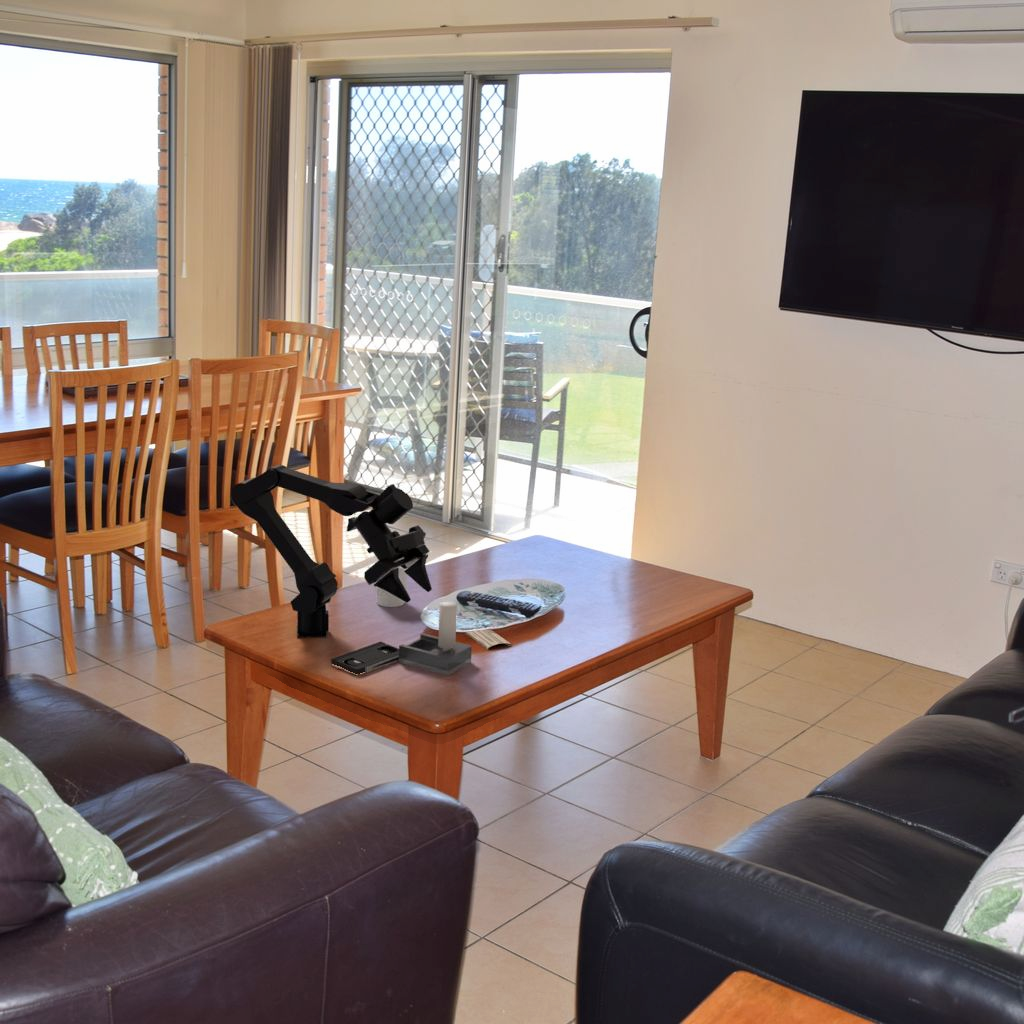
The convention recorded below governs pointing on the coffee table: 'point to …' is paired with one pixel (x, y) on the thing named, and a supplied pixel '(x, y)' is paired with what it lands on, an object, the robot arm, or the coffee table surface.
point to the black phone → (367, 658)
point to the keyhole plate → (435, 655)
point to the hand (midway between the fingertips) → (419, 596)
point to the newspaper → (487, 638)
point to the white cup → (388, 598)
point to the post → (447, 625)
